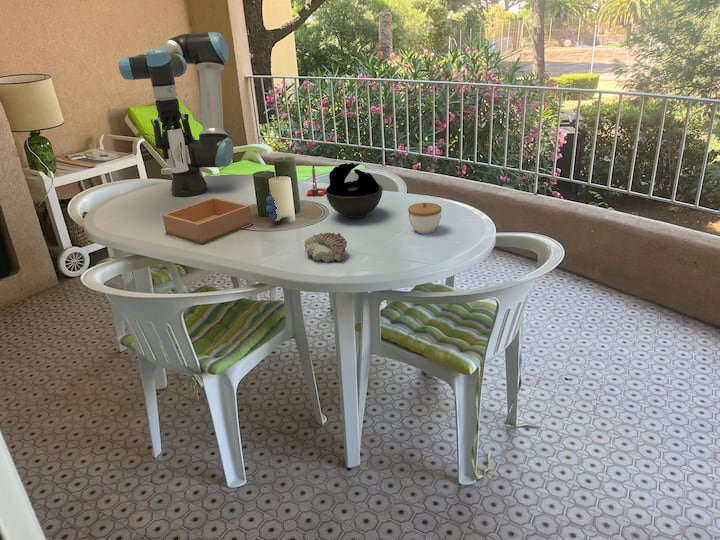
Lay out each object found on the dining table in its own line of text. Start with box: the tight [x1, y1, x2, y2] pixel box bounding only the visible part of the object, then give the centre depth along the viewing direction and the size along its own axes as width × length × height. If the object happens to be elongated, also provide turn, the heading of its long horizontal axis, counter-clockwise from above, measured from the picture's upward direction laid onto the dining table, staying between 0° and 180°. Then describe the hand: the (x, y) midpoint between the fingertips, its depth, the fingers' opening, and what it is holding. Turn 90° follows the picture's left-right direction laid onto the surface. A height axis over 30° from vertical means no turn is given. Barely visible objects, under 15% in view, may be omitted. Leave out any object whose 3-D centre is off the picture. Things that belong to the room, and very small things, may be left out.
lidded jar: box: [407, 201, 442, 235], centre depth 179 cm, size 11×11×9 cm
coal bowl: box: [325, 162, 384, 219], centre depth 194 cm, size 20×20×19 cm
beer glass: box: [163, 126, 189, 173], centre depth 195 cm, size 7×7×15 cm
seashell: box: [304, 232, 348, 263], centre depth 165 cm, size 14×9×10 cm
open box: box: [161, 197, 253, 246], centre depth 192 cm, size 22×20×7 cm
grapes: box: [265, 190, 277, 221], centre depth 194 cm, size 12×7×12 cm, turn 160°
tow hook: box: [306, 163, 327, 197], centre depth 224 cm, size 8×13×9 cm
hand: (179, 165), depth 197 cm, fingers closed on beer glass, 6 cm apart
